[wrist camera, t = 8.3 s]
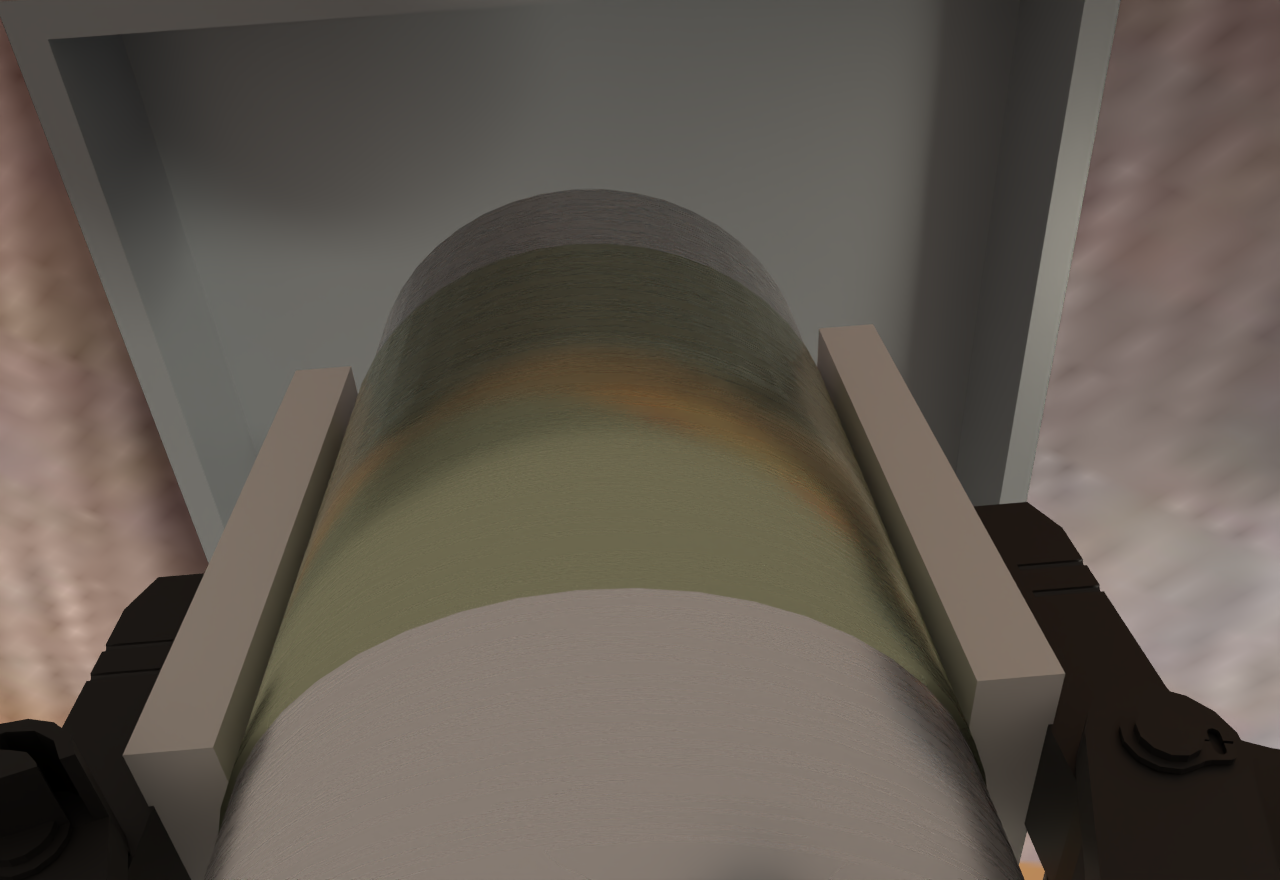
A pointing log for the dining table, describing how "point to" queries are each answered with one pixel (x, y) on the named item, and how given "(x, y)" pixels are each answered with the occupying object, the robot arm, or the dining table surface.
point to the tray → (569, 178)
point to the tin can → (602, 594)
